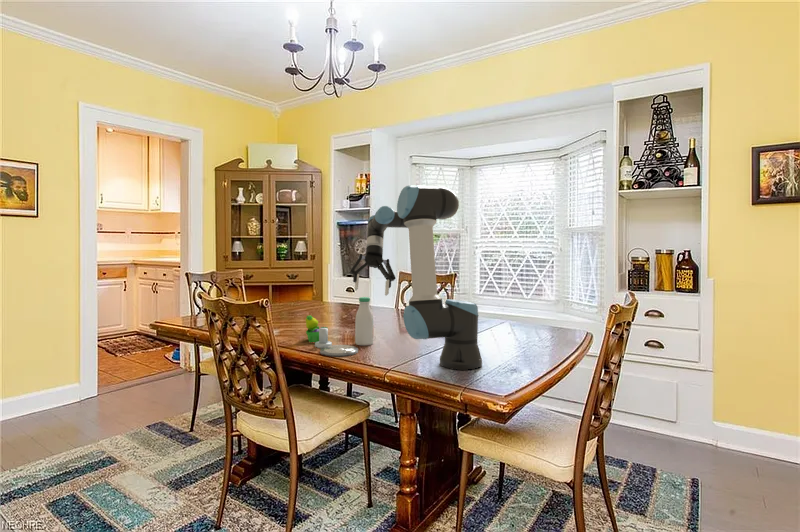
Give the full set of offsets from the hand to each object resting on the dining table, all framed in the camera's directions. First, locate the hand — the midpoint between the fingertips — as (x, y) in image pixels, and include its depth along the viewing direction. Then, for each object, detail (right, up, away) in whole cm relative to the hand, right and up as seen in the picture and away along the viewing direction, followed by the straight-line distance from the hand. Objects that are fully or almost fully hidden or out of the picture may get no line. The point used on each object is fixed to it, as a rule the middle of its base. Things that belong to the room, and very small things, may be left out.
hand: (371, 292), depth 194 cm
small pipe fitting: (-20, -22, -4) cm, 30 cm away
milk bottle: (-3, -23, +1) cm, 23 cm away
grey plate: (-12, -23, -13) cm, 29 cm away
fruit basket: (-25, -22, +7) cm, 34 cm away
